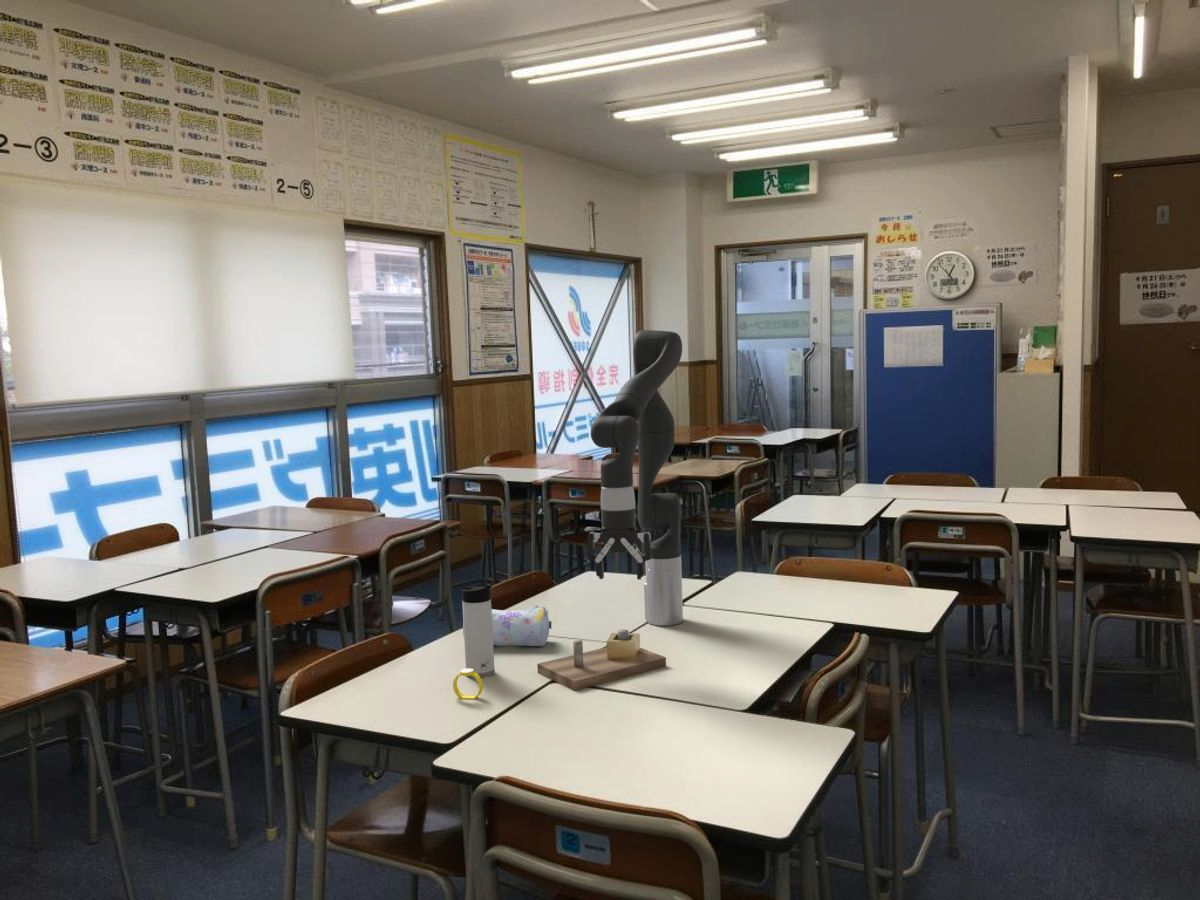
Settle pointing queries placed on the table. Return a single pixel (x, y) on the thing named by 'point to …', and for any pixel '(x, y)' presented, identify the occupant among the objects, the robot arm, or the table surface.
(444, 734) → the table surface
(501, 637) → the pencil case
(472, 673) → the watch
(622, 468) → the robot arm
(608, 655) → the collar
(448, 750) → the table surface
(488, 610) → the travel mug
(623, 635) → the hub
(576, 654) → the workboard
